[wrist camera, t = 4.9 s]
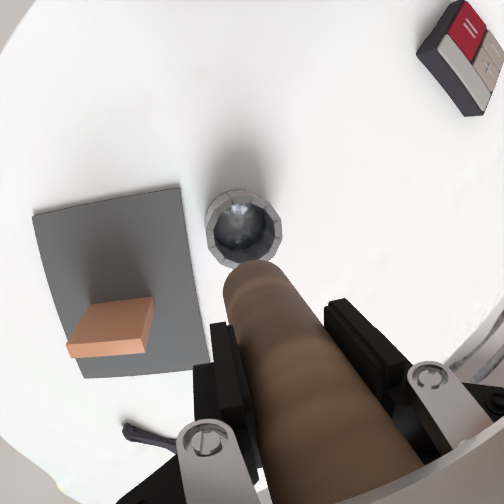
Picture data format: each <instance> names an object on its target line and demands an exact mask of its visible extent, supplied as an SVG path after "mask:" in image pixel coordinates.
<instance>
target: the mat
mask: <svg viewBox="0 0 504 504" xmlns="http://www.w3.org/2000/svg"><path fill="white" fill-rule="evenodd" d="M32 220H33V225H34V230H35V235H36V239H37V243H38V247H39V252H40V255H41V259H42V263H43V267H44V270H45V274H46V278H47V281H48V284H49V288H50V291H51V294H52V297H53V300H54V303H55V306H56V309H57V312H58V315H59V318H60V321H61V323H62V326H63V329H64V331H65V334H66V337H67V339H68V340H69V338H70V336H71V335H72V333H73V331H74V330H75V328H76V326H77V325H78V323H79V322H80V320H81V318H82V317H83V315H84V314H85V312H86V310H87V309H88V307H89V306H90V304H96V303H104V302H112V301H120V300H128V299H136V298H144V297H151V296H152V298H153V302H154V306H155V311H154V315H153V319H152V324H151V328H150V333H149V337H148V342H147V346H146V351H145V353H136V354H125V355H113V356H100V357H84V358H75V359H76V361H77V363H78V366H79V368H80V370H81V372H82V375H83V377H84V378H107V377H123V376H137V375H149V374H159V373H169V372H178V371H186V370H193V365H199V364H205V363H210V360H209V356H208V351H207V346H206V341H205V336H204V331H203V326H202V321H201V316H200V311H199V305H198V300H197V294H196V289H195V283H194V277H193V272H192V266H191V260H190V254H189V247H188V241H187V234H186V228H185V221H184V214H183V207H182V200H181V192H180V188H175V189H168V190H162V191H156V192H150V193H144V194H138V195H132V196H126V197H121V198H115V199H110V200H105V201H100V202H95V203H90V204H85V205H80V206H75V207H71V208H66V209H61V210H57V211H53V212H48V213H44V214H40V215H36V216H33V217H32Z"/></svg>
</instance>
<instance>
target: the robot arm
mask: <svg viewBox="0 0 504 504" xmlns="http://www.w3.org/2000/svg"><path fill="white" fill-rule="evenodd" d="M324 328H325V329H326V330H327V332H328V333H329V334H330V336H331V337H332V338H333V340H334V341H335V343H336V344H337V345H338V347H339V348H340V349H341V351H342V352H343V353H344V355H345V356H346V357H347V359H348V360H349V361H350V363H351V364H352V366H353V367H354V368H355V370H356V371H357V372H358V374H359V375H360V376H361V378H362V379H363V381H364V382H365V383H366V385H367V386H368V387H369V389H370V390H371V391H372V393H373V394H374V396H375V397H376V398H377V400H378V401H379V402H380V404H381V405H382V407H383V408H384V409H385V411H386V412H387V413H388V415H389V416H390V418H391V419H392V420H393V422H394V423H395V425H396V426H397V427H398V429H399V430H400V431H401V433H402V434H403V436H404V437H405V438H406V440H407V441H408V443H409V444H410V445H411V447H412V448H413V450H414V451H415V452H416V454H417V455H418V457H419V458H420V459H421V461H422V462H423V464H424V465H425V466H424V467H422V468H420V469H418V470H416V471H414V472H412V473H410V474H408V475H405V476H403V477H401V478H399V479H397V480H395V481H392V482H390V483H388V484H386V485H383V486H381V487H378V488H376V489H374V490H371V491H368V492H366V493H363V494H361V495H358V496H355V497H353V498H350V499H347V500H344V501H341V502H338V503H335V504H504V388H502V387H495V386H486V385H478V384H470V383H462V382H460V381H459V380H458V378H457V377H456V376H455V375H454V374H453V373H452V371H451V370H450V369H449V368H448V367H446V366H445V365H443V364H441V363H438V362H434V361H424V362H419V363H417V364H415V365H412V364H411V363H410V362H409V361H408V360H407V359H406V358H405V356H404V355H403V354H402V353H401V352H400V351H399V350H398V349H397V348H396V347H395V346H394V345H393V344H392V343H391V342H390V341H389V340H388V339H387V338H386V337H385V336H384V335H383V334H382V333H381V332H380V331H379V330H378V329H377V328H375V327H374V326H373V325H372V324H371V323H370V322H369V321H368V320H367V319H366V318H365V317H364V316H363V315H362V314H361V313H360V312H359V311H358V310H357V309H356V308H355V307H354V306H353V305H352V304H351V303H350V302H349V301H348V300H347V299H345V298H342V299H338V300H334V301H330V302H329V304H328V306H325V307H324ZM210 333H211V342H212V351H213V360H214V362H212V363H205V364H199V365H193V393H194V418H195V422H192V423H190V424H188V425H187V426H185V427H184V428H183V429H182V430H181V431H180V432H179V435H178V437H177V442H176V446H177V454H176V455H175V456H173V457H172V458H171V459H170V460H169V461H167V462H166V463H165V464H164V465H163V466H161V467H160V468H159V469H158V470H156V471H155V472H154V473H153V474H152V475H150V476H149V477H148V478H146V479H145V480H144V481H143V482H141V483H140V484H139V485H138V486H136V487H135V488H134V489H132V490H131V491H130V492H128V493H127V494H126V495H124V496H123V497H122V498H121V499H120V500H119V501H118V502H117V503H116V504H260V501H259V499H258V496H257V494H256V491H255V489H254V485H255V484H256V483H257V482H258V480H259V477H258V472H257V468H262V467H263V466H262V462H261V458H260V454H259V451H258V447H257V440H256V438H257V428H256V422H255V416H254V411H253V405H252V401H251V396H250V392H249V389H248V385H247V381H246V377H245V373H244V369H243V365H242V361H241V356H240V352H239V348H238V344H237V340H236V336H235V332H234V327H233V325H228V326H226V322H220V323H213V324H210Z"/></svg>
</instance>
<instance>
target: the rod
mask: <svg viewBox="0 0 504 504" xmlns="http://www.w3.org/2000/svg"><path fill="white" fill-rule="evenodd" d="M223 298H224V303H225V307H226V312H227V317H228V322H229V325H233V327H234V332H235V336H236V340H237V344H238V348H239V352H240V356H241V361H242V365H243V369H244V373H245V377H246V381H247V385H248V389H249V392H250V396H251V401H252V405H253V411H254V416H255V422H256V428H257V438H256V440H257V447H258V451H259V454H260V458H261V462H262V466H263V470H264V474H265V477H266V481H267V485H268V489H269V492H270V496H271V499H272V503H273V504H335V503H338V502H341V501H344V500H347V499H350V498H353V497H355V496H358V495H361V494H363V493H366V492H368V491H371V490H374V489H376V488H378V487H381V486H383V485H386V484H388V483H390V482H392V481H395V480H397V479H399V478H401V477H403V476H405V475H408V474H410V473H412V472H414V471H416V470H418V469H420V468H422V467H424V466H425V465H424V464H423V462H422V461H421V459H420V458H419V457H418V455H417V454H416V452H415V451H414V450H413V448H412V447H411V445H410V444H409V443H408V441H407V440H406V438H405V437H404V436H403V434H402V433H401V431H400V430H399V429H398V427H397V426H396V425H395V423H394V422H393V420H392V419H391V418H390V416H389V415H388V413H387V412H386V411H385V409H384V408H383V407H382V405H381V404H380V402H379V401H378V400H377V398H376V397H375V396H374V394H373V393H372V391H371V390H370V389H369V387H368V386H367V385H366V383H365V382H364V381H363V379H362V378H361V376H360V375H359V374H358V372H357V371H356V370H355V368H354V367H353V366H352V364H351V363H350V361H349V360H348V359H347V357H346V356H345V355H344V353H343V352H342V351H341V349H340V348H339V347H338V345H337V344H336V343H335V341H334V340H333V338H332V337H331V336H330V334H329V333H328V332H327V330H326V329H325V328H324V326H323V325H322V324H321V322H320V321H319V320H318V318H317V317H316V316H315V314H314V313H313V312H312V310H311V309H310V308H309V306H308V305H307V304H306V302H305V301H304V299H303V298H302V297H301V295H300V294H299V293H298V291H297V290H296V289H295V287H294V286H293V285H292V283H291V282H290V281H289V279H288V278H287V277H286V276H285V274H284V273H283V272H282V270H281V269H280V268H279V267H277V266H276V265H275V264H273V263H271V262H268V261H263V260H252V261H248V262H245V263H243V264H241V265H239V266H238V267H236V268H235V269H234V270H233V271H232V272H231V273H230V274H229V276H228V277H227V279H226V281H225V284H224V288H223Z"/></svg>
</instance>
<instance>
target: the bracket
mask: <svg viewBox="0 0 504 504" xmlns="http://www.w3.org/2000/svg"><path fill="white" fill-rule="evenodd" d="M129 428H130V429H129ZM131 428H133V429H134V430H135V431H134V430H133V429H131ZM122 432H123V435H124V437H125V438H126V439H127V440H129V441H131V442H139V443H144V444H149V445H155V446H159V447H163V448H166V449H168V450H170V451H171V452H173V453H174V454H177V446H176V442H177V440H172V439H165V438H163V437H160V436H157V435H155V434H152V433H150V432H147V431H145V430H142V429H140V428H137V427H135V426H132V425H130V424H128V423H127V424H126V425H125V426H124V428H123V430H122Z"/></svg>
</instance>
